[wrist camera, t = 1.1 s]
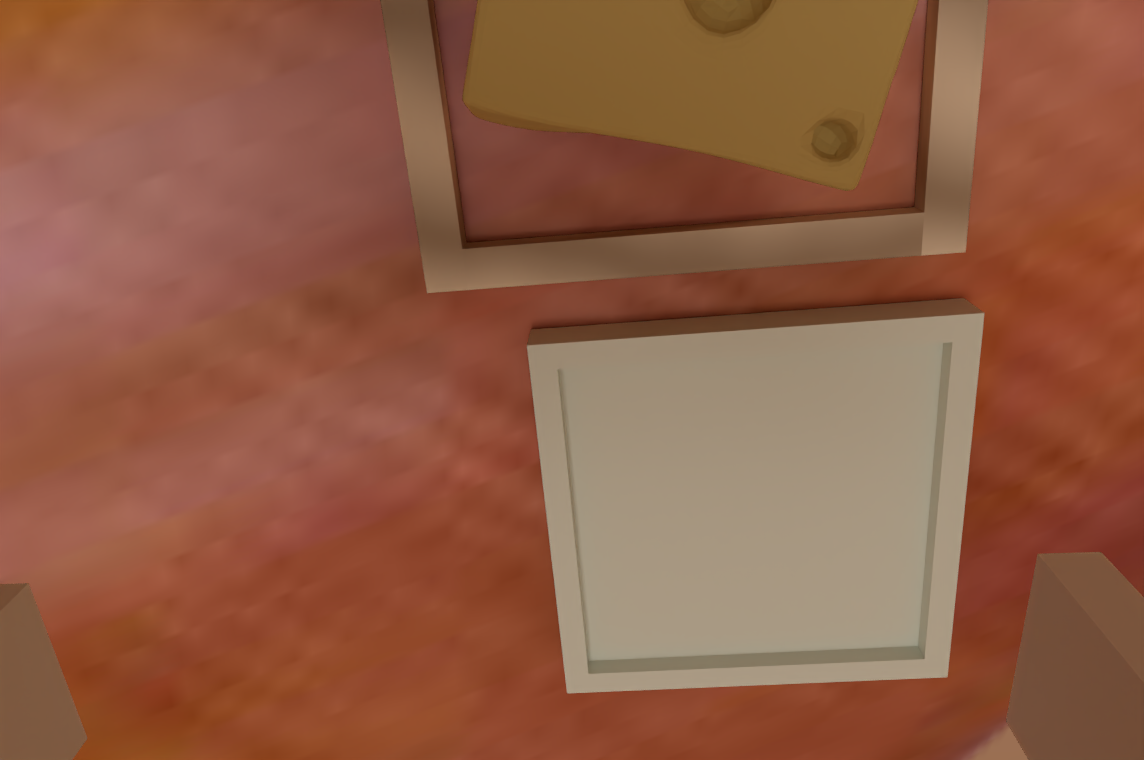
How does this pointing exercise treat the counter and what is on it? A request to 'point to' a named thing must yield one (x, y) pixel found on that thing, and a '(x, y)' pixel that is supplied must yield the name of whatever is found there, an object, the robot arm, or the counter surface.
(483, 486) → the counter surface
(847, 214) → the wooden square frame
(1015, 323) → the counter surface
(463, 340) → the counter surface
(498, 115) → the cheese
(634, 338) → the plate
